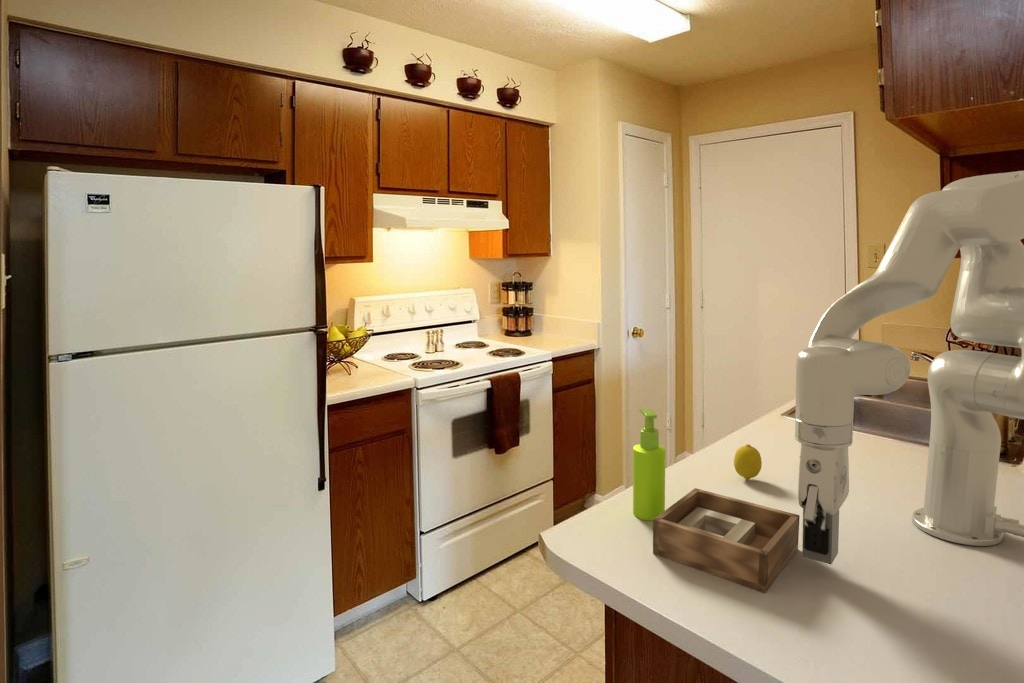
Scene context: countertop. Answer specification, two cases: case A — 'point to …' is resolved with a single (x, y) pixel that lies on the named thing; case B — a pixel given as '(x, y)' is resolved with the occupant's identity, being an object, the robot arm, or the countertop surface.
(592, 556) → the countertop surface
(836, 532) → the plug
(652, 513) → the soap dispenser
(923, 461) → the countertop surface
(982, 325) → the robot arm
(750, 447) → the lemon
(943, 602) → the countertop surface
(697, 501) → the crate
